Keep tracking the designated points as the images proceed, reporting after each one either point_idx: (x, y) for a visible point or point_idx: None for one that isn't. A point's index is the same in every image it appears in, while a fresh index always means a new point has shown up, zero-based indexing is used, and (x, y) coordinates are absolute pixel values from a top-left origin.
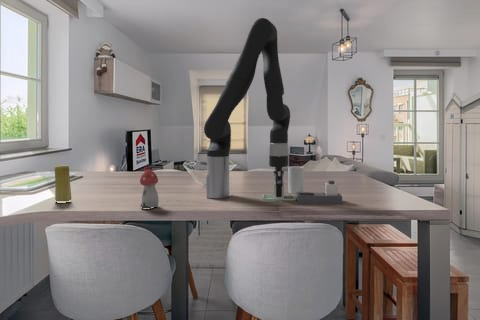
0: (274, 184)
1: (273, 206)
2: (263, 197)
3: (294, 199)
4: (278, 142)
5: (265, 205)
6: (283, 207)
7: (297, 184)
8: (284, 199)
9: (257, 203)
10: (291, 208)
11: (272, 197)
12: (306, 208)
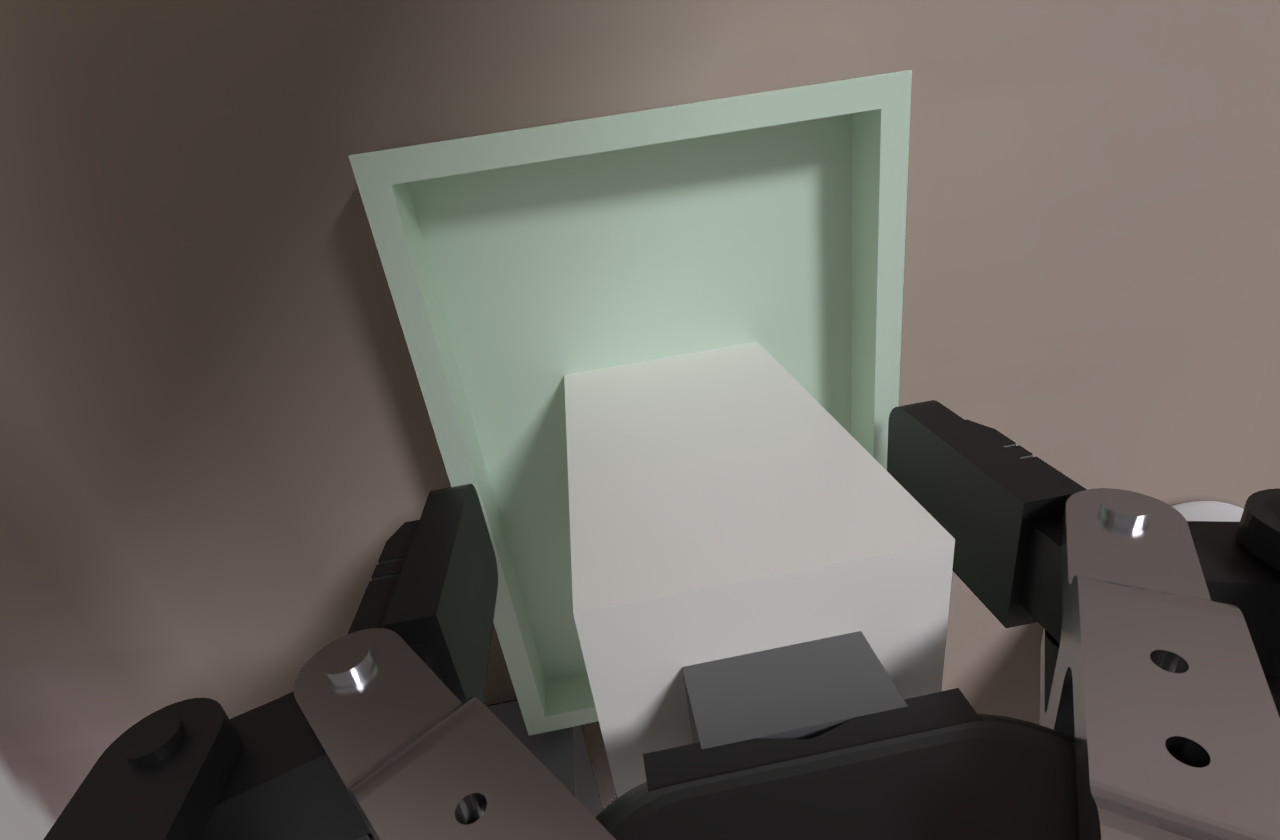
0: (575, 594)
1: (129, 433)
2: (566, 157)
3: (524, 714)
4: None
5: (142, 271)
6: (136, 589)
7: None
8: None
9: (273, 48)
10: (126, 693)
11: (850, 307)
12: None
